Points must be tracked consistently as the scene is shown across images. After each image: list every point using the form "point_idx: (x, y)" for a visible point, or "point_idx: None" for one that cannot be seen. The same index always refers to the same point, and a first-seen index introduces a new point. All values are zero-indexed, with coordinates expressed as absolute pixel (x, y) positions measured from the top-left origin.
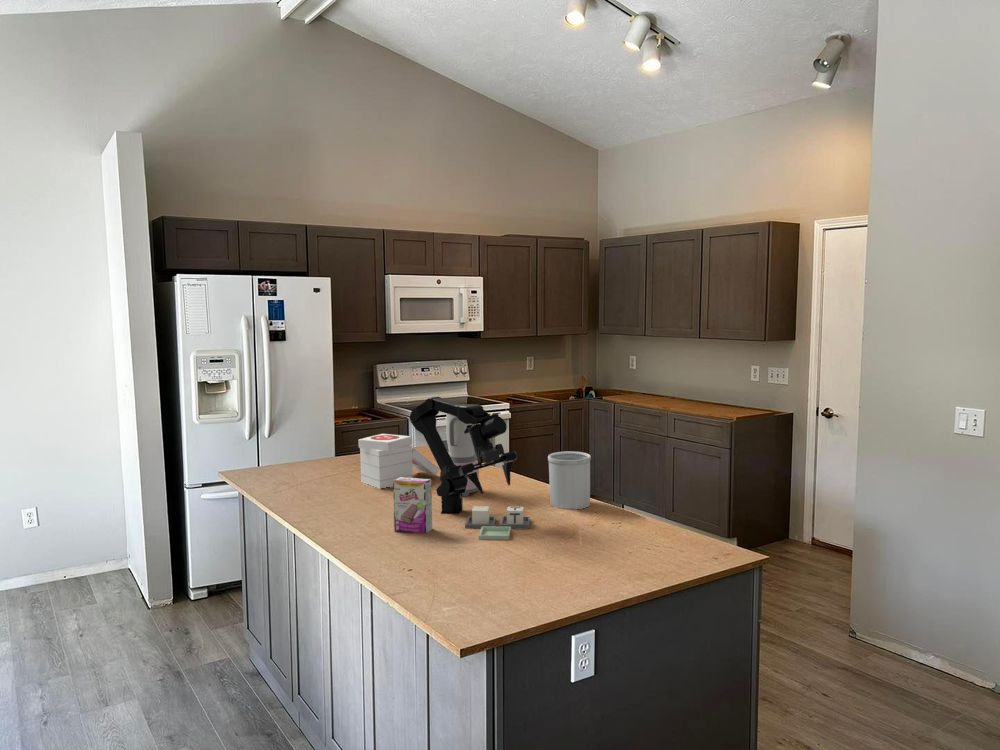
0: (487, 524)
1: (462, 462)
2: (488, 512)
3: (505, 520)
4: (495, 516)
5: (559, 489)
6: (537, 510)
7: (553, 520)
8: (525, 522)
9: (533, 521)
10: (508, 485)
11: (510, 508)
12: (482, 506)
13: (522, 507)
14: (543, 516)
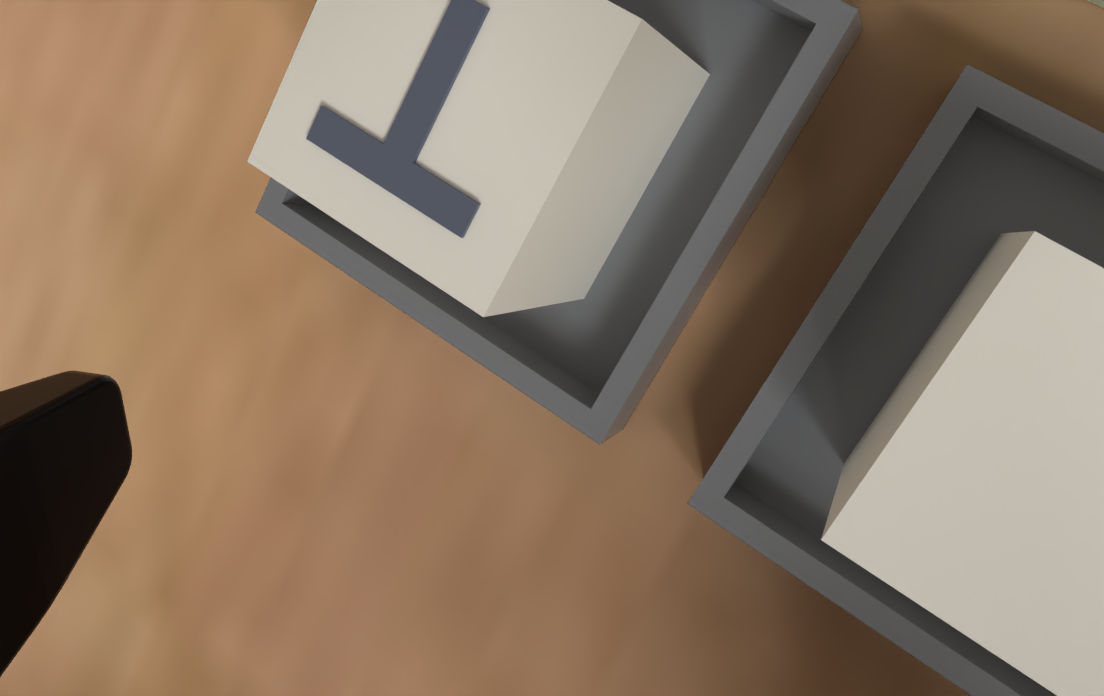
0: (1078, 123)
1: None
2: (924, 375)
3: (586, 383)
4: (699, 502)
5: None
6: None
7: (55, 113)
8: None
9: None
10: (130, 444)
11: (496, 159)
12: (960, 630)
13: (280, 120)
14: (87, 331)
